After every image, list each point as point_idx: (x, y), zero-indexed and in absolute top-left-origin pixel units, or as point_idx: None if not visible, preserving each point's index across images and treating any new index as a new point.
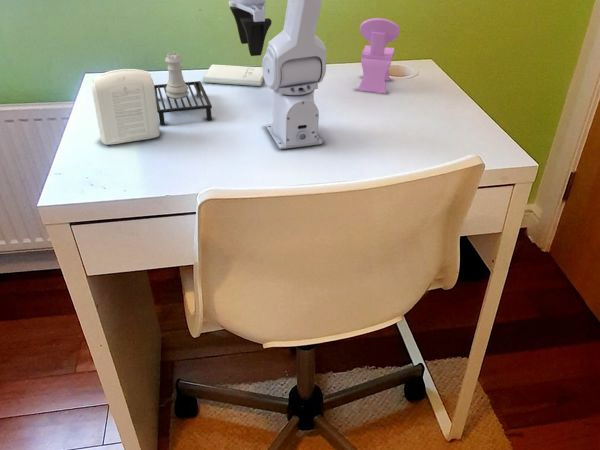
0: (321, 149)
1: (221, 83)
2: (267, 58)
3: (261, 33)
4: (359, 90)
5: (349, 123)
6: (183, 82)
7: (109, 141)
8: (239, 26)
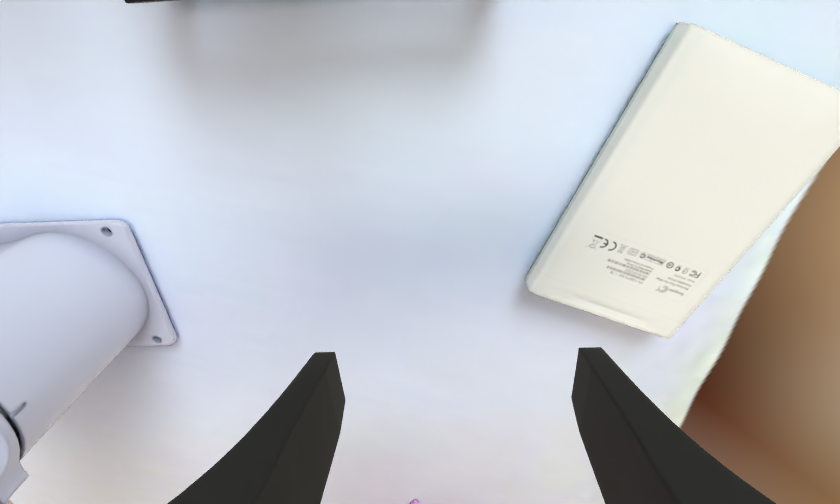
0: None
1: (621, 118)
2: None
3: None
4: (411, 502)
5: (189, 428)
6: None
7: None
8: (637, 450)
